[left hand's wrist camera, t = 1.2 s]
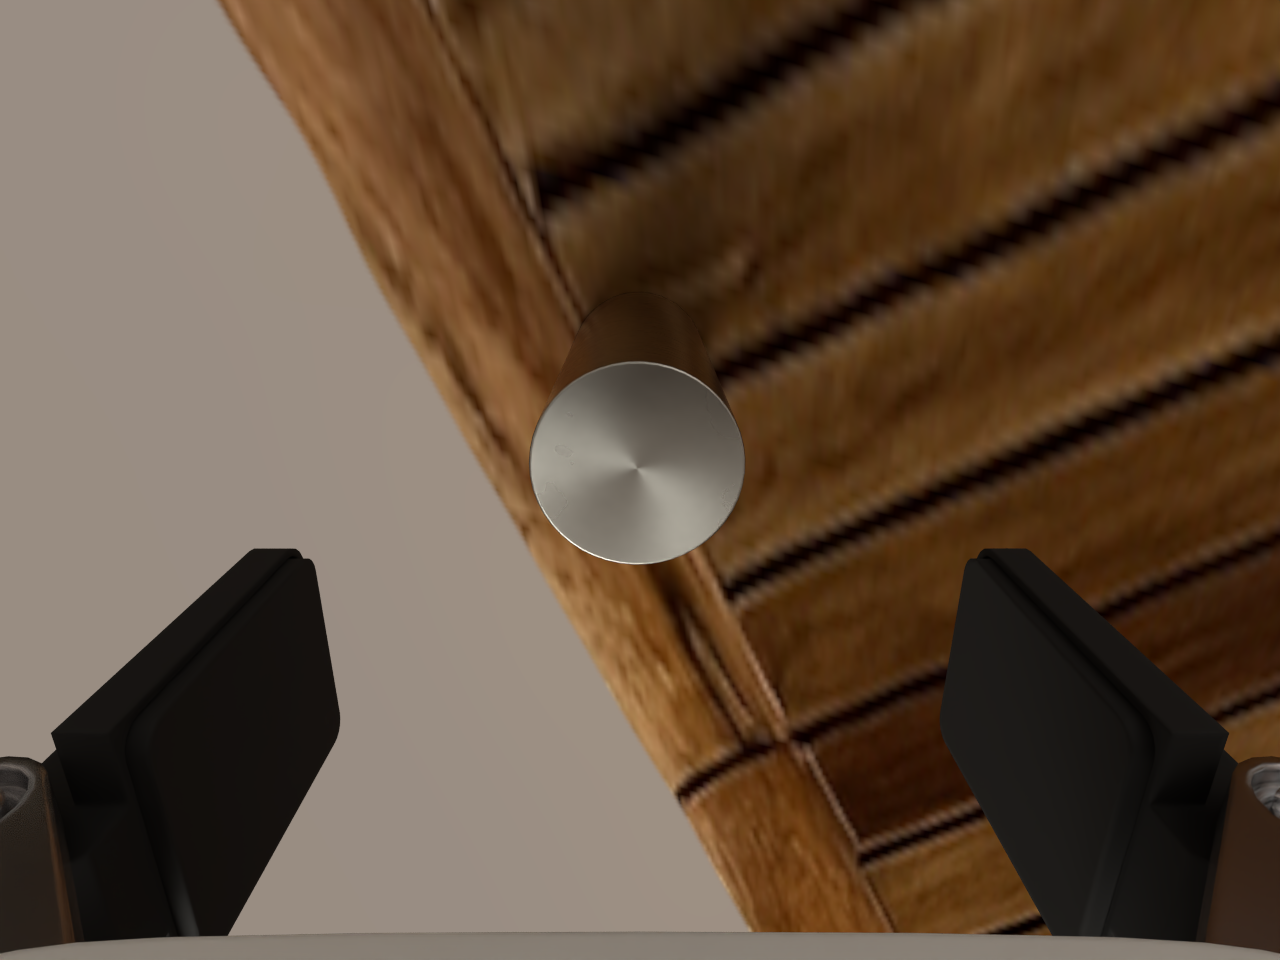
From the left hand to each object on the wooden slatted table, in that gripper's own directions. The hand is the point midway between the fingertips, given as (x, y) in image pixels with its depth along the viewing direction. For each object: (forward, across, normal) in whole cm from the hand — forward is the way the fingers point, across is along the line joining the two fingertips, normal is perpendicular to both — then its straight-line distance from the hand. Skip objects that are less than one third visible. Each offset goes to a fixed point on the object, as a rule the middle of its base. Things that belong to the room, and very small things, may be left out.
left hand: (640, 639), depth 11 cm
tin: (+20, 0, 0) cm, 20 cm away
